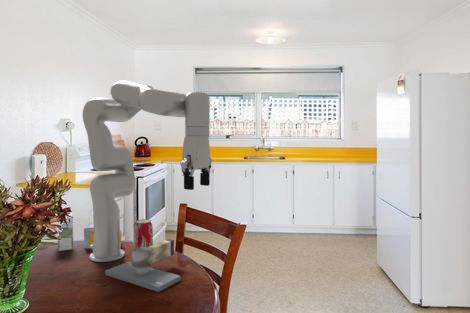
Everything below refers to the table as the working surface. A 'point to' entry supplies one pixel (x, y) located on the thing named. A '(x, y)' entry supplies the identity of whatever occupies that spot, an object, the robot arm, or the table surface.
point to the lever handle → (152, 253)
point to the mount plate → (143, 276)
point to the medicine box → (88, 234)
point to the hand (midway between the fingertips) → (197, 187)
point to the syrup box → (66, 236)
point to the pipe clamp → (93, 238)
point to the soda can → (143, 233)
